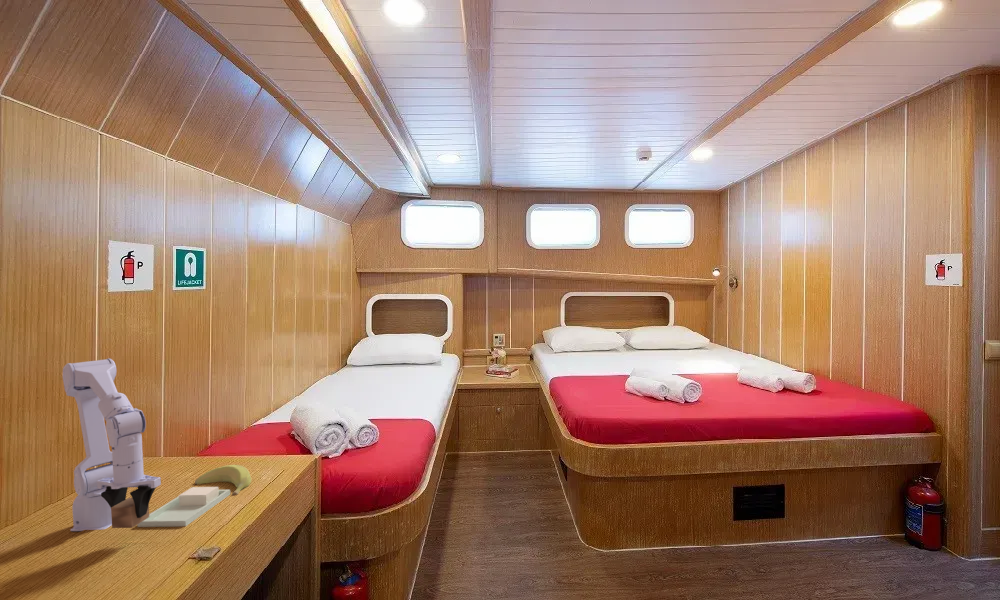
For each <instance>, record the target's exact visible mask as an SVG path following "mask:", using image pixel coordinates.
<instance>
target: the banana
mask: <svg viewBox="0 0 1000 600" xmlns="http://www.w3.org/2000/svg"><path fill="white" fill-rule="evenodd" d="M220 482H223V483H224V482H225V483H232V484H233V485H234V486H235V487H236V489H235V490H234V491H233V492H232V493H231V495H232V496H235V495H239V493H240V492H241V490H243V489H245V488H247V487H248V486H250V484H251V483H252V476H251V474H250V471H249V470H248V468H247V467H245V466H243V465H239V464H229V465H228V464H227V465H222V466H219V467H216V468H213V469H211V470H208V471H206V472H205V473H202V475H200V476H199V477H198V478H196V479H195V480H194V483H195V485H203V484H204V485H205V484H209V483H220Z"/></svg>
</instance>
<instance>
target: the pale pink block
mask: <svg viewBox="0 0 1000 600" xmlns="http://www.w3.org/2000/svg"><path fill="white" fill-rule="evenodd" d="M219 490H220V489H219V486H193V487H190V488H189V489H187V490H185V491H184V492H181V493H180V494H178V496H179V506H193V505H206V504H208V503H209V502H210V501H212V500H213V499H215V498H216V497H218V496H219Z"/></svg>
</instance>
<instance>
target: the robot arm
mask: <svg viewBox="0 0 1000 600" xmlns="http://www.w3.org/2000/svg"><path fill="white" fill-rule="evenodd" d="M116 376H117V366H116V363H115V361H114V360H113V359H112V358H110V357H108V358H106V359H105V358H104V359H98V360H90V361H89V360H88V361H81V362H72V363H71V362H69V363H68V362H67V363H66V364H65V365H64V366H63V368H62V381H63V387H64V392H65V394H66V396H67V397H72V398H74V399H75V403H76V405H77V409H78V415H79V416H78V417H79V422H80V427H81V428H80V429H81V433H82V438H83V445H84V451H85V458H84V459H83V460H82V461H80V463H78V464H77V465H76V466H75V468H74V470H73V476H74V478H73V487H74V490H75V493H76V494H77V496H76V497H75V498H74V500H73V503H72V521H73V523H72V524H73V527H72V528H70V532H83V531H84V530H85V531H88V530H89V531H90V530H91V531H92V530H94V531H97V530H98V531H99V530H102V531H103V530H106V529H108V528H110V527H112V517H111V507H113V506H115V505H117V504H119V503H120V502H122V501H124V500H126V499H127V493H128V488H136V489H134V490H132V491H130V492H129V495H130V497H131V498H133V501H134V504H135V510H136V516H137V518H140V517H142V516H144V515H145V514H146V513H147V509H148V505H149V504H150V501H151V498H152V496H153V494H154V492H155V490H156V488H157V487H159V486H161V485H162V482H161V479H162V478H161V477H160V476H153V475H148V474H145V473H144V470H145V469H144V454H143V451H144V450H143V437H142V435H143V434H142V433H144V432H145V431H146V429H147V421H146V416H145V414H144V412H143V410H141V409H138V408H137V407H135V408H134V407H133V405H132V403H131V402H130V400H129V399H128V397H127V395H126V394H125V393H122V392H118V389H117V387H116V385H115V380H116V379H115V378H116ZM105 422H106V423H105ZM110 447H111V450H110ZM93 467H94V468H93ZM90 468H91V469H90ZM149 506H150V505H149Z"/></svg>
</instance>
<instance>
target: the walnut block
mask: <svg viewBox="0 0 1000 600" xmlns="http://www.w3.org/2000/svg"><path fill="white" fill-rule="evenodd" d="M149 506H150V505H148V509H147V513H146V514H145V515H144V516H142V517H140V518H137V516H136V510H135V504H134V501H133V498H132V497H128V498H126V500H124V501H122V502H120V503H119V504H117V505H115V506H113V507H111V517H112V525H111V528H112V529H132V528H134V527H137V524H139V523H141V522H142V521H144V520H145V519H147V518H149V514H150V507H149Z"/></svg>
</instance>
